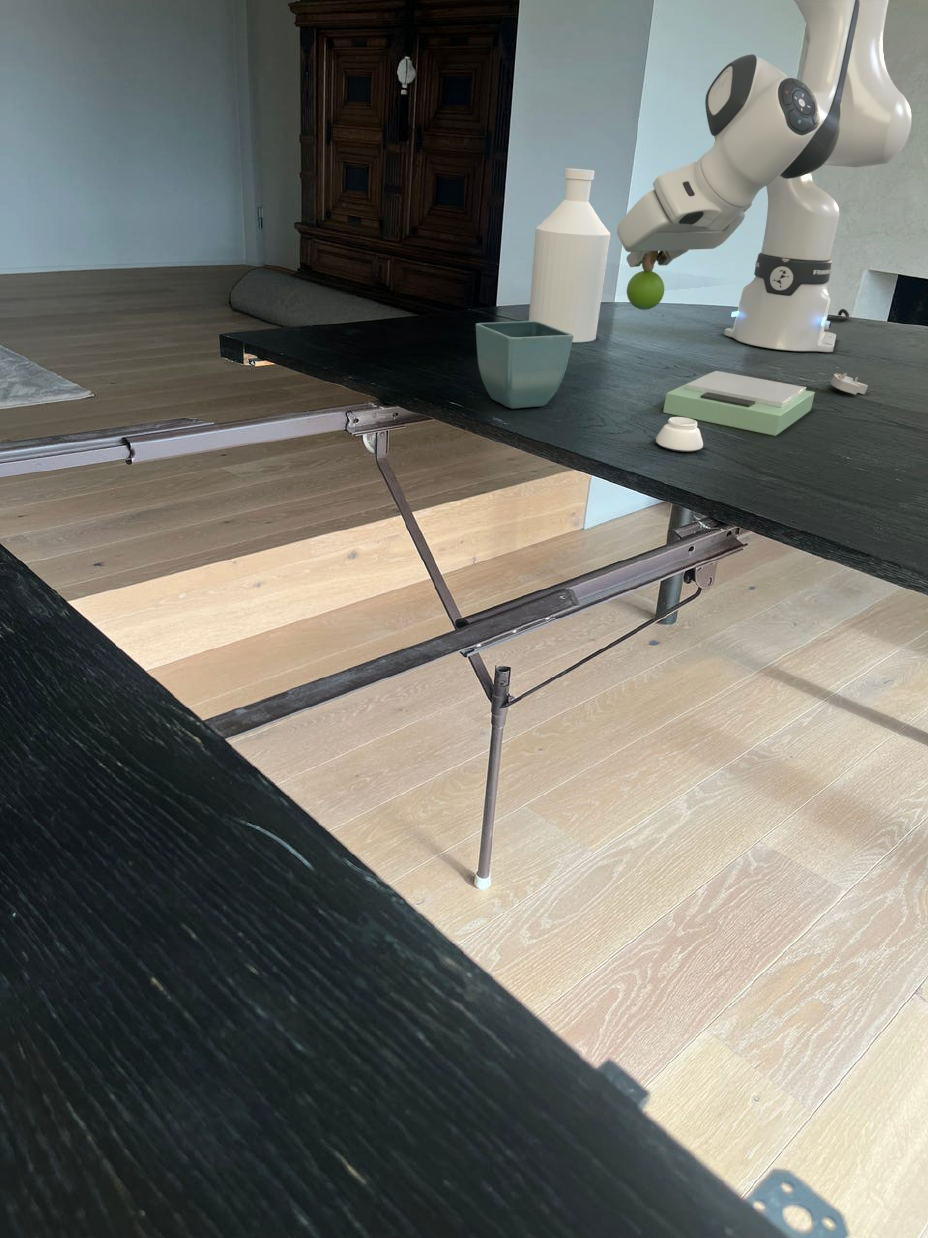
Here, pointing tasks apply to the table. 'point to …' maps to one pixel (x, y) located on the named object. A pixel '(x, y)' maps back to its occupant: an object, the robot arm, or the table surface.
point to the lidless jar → (680, 435)
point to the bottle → (570, 262)
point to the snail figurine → (646, 285)
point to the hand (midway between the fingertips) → (645, 262)
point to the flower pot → (522, 361)
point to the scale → (740, 402)
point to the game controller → (847, 384)
